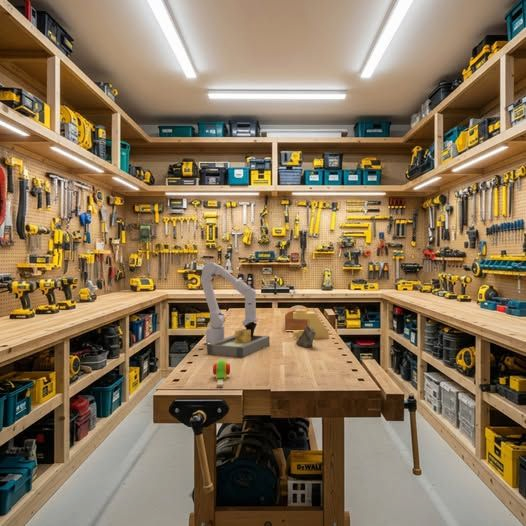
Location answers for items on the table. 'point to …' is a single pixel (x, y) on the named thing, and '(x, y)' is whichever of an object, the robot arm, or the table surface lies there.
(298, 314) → the pale yellow sloped piece
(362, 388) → the table surface
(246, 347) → the trap track
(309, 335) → the concrete fragment
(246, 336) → the block
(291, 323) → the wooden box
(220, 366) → the toy measuring tape
